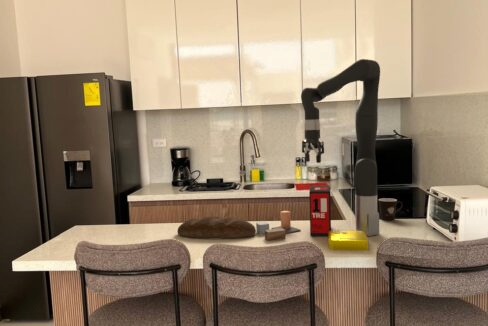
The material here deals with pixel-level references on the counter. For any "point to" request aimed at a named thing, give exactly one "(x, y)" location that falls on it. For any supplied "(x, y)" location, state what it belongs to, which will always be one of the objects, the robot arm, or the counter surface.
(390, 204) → the coffee mug
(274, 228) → the charcoal mat
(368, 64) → the robot arm
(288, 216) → the terracotta cylinder
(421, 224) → the counter surface
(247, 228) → the bread
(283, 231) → the walnut block
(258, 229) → the blue-grey cube
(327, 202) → the cleaning product box
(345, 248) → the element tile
